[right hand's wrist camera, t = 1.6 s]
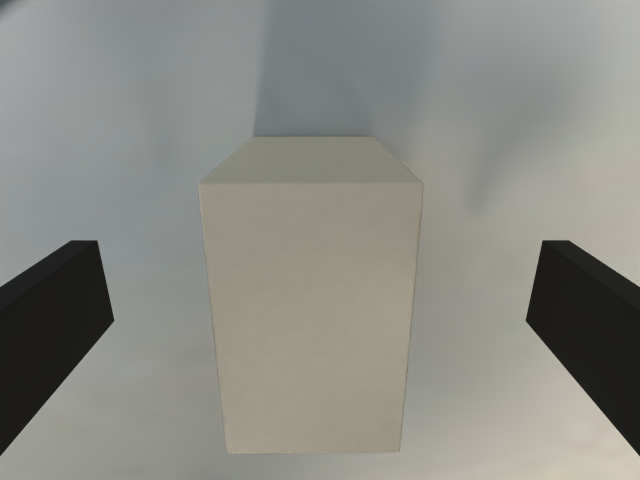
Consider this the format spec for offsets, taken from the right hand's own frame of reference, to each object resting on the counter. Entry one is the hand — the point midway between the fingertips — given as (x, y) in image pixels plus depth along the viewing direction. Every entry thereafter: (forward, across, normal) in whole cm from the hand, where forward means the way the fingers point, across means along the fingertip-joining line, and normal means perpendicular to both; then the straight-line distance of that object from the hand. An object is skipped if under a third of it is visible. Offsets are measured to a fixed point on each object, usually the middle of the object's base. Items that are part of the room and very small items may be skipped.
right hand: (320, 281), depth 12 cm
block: (+6, 0, 0) cm, 6 cm away
